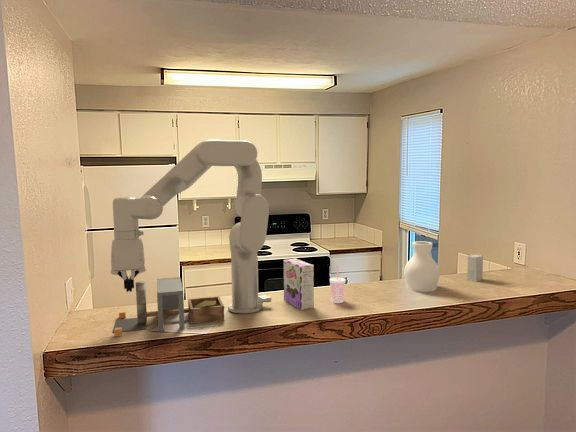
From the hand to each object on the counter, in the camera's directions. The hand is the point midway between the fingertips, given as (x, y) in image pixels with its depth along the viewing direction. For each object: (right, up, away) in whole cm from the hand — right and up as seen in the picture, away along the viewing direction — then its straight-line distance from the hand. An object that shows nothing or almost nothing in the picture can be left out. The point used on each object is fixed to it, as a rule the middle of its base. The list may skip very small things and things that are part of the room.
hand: (129, 290), depth 144 cm
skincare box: (+135, -5, +50) cm, 144 cm away
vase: (+108, -7, +39) cm, 115 cm away
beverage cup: (+71, -9, +23) cm, 75 cm away
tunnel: (+11, -11, +4) cm, 16 cm away
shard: (+23, -11, +9) cm, 27 cm away
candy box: (+56, -9, +21) cm, 61 cm away
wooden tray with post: (+16, -11, +6) cm, 20 cm away
